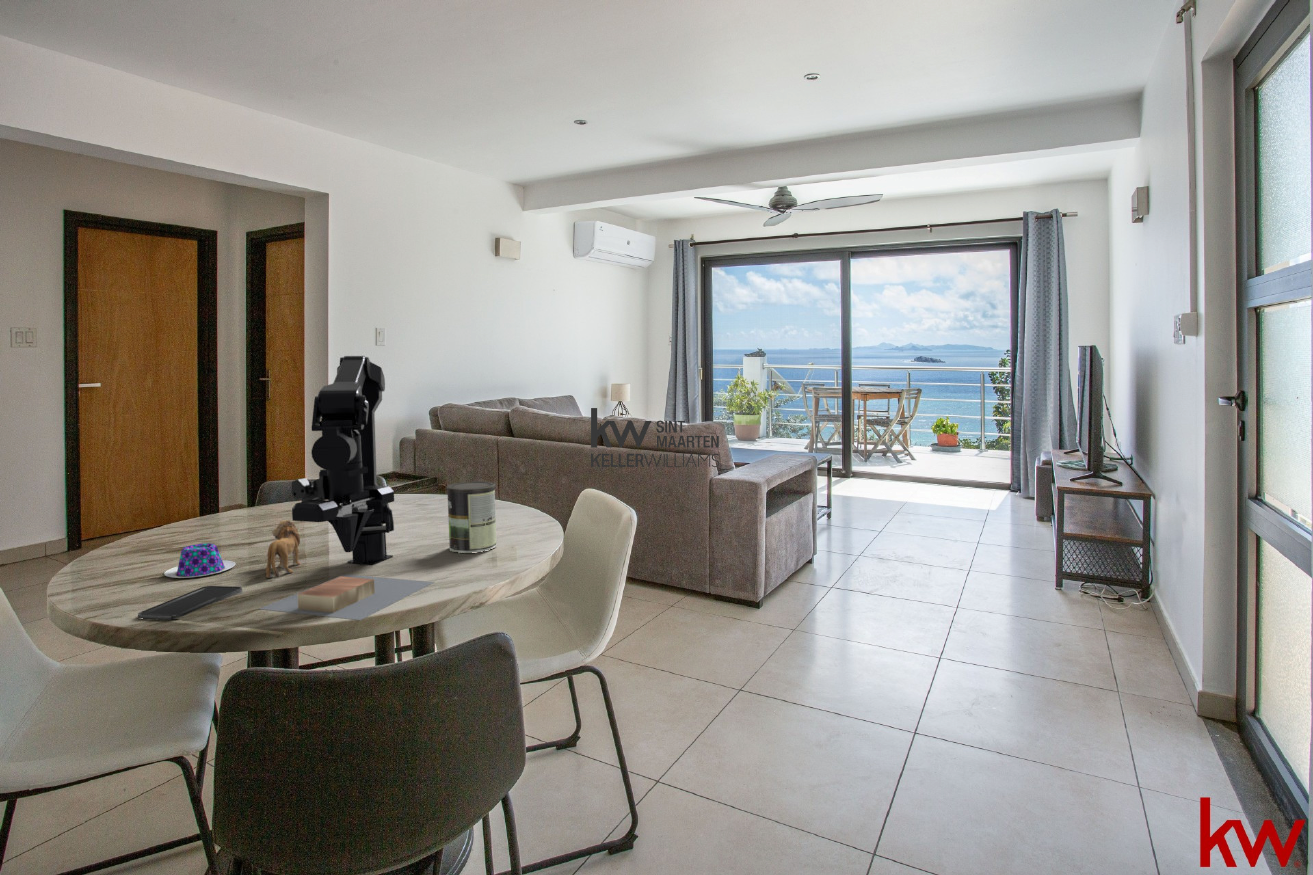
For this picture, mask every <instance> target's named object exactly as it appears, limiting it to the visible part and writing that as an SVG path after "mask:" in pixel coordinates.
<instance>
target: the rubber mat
mask: <svg viewBox="0 0 1313 875" xmlns="http://www.w3.org/2000/svg"><path fill="white" fill-rule="evenodd" d="M340 576H342V577H354V578H365V579H374V589H375V593H374V594H372V595H370V596H368V597H366V598H364V599H362V600H360V601H357V602H355V603H353V604H351V605H349V606H347V607H345V608H343V609H340V610H338V611H336V612H334V613H332V612H322V611H313V610H304V609H298V596H297V594H299V593H301V592H304V591H306V590H308V589H311V588H313V587H316V586H318V585H321V584H323V583H326V582H328V581H331V580H333V579H336V578H338V577H340ZM433 584H435V581H426V580H425V581H424V580H415V579H404V578H393V577H384V576H383V577H382V576H381V577H380V576H368V575H359V574H357V575H356V574H346V573H345V574H341V575H338V576H336V577H334V578H331V579H329V580H327V581H325V582H321V583H319V584H316V585H314V586H312V587H309V588H307V589H305V590H302V591H299V592H297V593H296V592H295V593H294V594H292V595H290V596H287V597H285V598H282V599H280V600H277V601H274V602H272V603H270V604H266V605H264V606H262V607H260V608H258V610H263V611H264V610H265V611H272V612H273V611H274V612H281V613H282V612H283V613H291V614H299V615H308V616H309V615H310V616H318V617H325V618H326V617H327V618H337V619H345V620H346V619H347V620H354V621H362V620H364V619H366V618H368V617H369V616H371V615H373V614H376V613H377V612H379V611H381V610H383V609H385V608H387V607H389V606H391V605H393V604H395V603H397V602H399V601H401V600H403V599H404V598H407V597H409V596H410V595H413V594H415V593H416V592H418V591H421V590H423V589H425V588H426V587H428V586H431V585H433Z"/></svg>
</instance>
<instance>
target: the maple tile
mask: <svg viewBox="0 0 1313 875" xmlns="http://www.w3.org/2000/svg"><path fill="white" fill-rule="evenodd" d="M339 576H340V577H338V576H337V577H338V578H336V577H335V578H336V579H334V578H332V579H333V580H331V579H330V580H331V581H329V580H327V581H328V582H326V581H325V582H326V583H324V582H322V583H323V584H321V583H320V584H321V585H319V584H317V585H318V586H316V585H315V586H316V587H314V586H312V587H313V588H311V587H310V588H311V589H309V588H307V589H308V590H306V589H305V590H306V591H304V590H303V591H304V592H301V591H300V592H301V593H299V592H298V593H299V594H297V596H298V609H304V610H313V611H322V612H332V613H334V612H336V611H338V610H340V609H343V608H345V607H347V606H349V605H351V604H353V603H355V602H357V601H360V600H362V599H364V598H366V597H368V596H370V595H372V594H374V593H375V589H374V579H365V578H354V577H342V576H341V575H339Z"/></svg>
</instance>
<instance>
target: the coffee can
mask: <svg viewBox="0 0 1313 875" xmlns="http://www.w3.org/2000/svg"><path fill="white" fill-rule="evenodd" d="M495 488H496V483H494V482H491V481H484V480H483V481H480V480H478V481H461V482H455V483H451V484H447V486H446V491H447V511H448V512H447V513H448V517H447V518H448V536H449V537H448V538H449V539H448V540H449V551H450V552H451V551H452V552H451V553H454V552H458V553H457V554H460V553H472V552H481V551H485V550H489V549H491V548H494V547H495V546H496V544H497V521H496V518H497V517H496V516H497V515H496V496H495V495H496V494H495V493H496V491H495Z"/></svg>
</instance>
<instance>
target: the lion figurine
mask: <svg viewBox="0 0 1313 875" xmlns="http://www.w3.org/2000/svg"><path fill="white" fill-rule="evenodd" d="M271 534H272V536H273V537H274V538H275V540H274V541H272V542H271V543H270V544H269V546H268V549H267V556H266V557H267V561H266V567H265V573H266V576H265V579H270V578H273V575H274V577H275V578H278V579H279V577H280V573H279V571H278V570H277V567H276V560H275V558H276V556H278V558H279V564H278V567H279V568H283V570H284V571H285V573H286V574H291V573H293V572H294V570H293V569H291V568H289V556H290V555H291V554H292V556H293V557H292V558H293V559H292V565H293V566H299V565H300V564H301V562H300V561H299V546H300V543H301V539H300V538H301V536H300V534H299V532H298V528H297V526H296V525H295V523H294V521H290V519H289V520H288V519H284V520H280V521H279V522H278V524H277V526H276V528H275V529H274V530H273V531H271ZM271 570H273V573H274V574H272V572H271Z"/></svg>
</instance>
